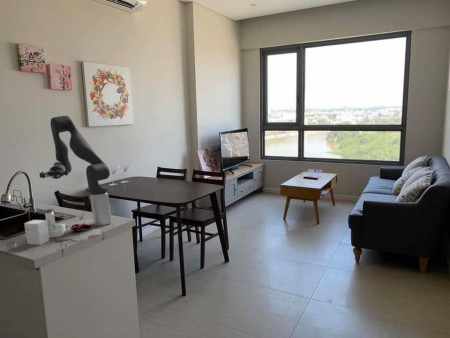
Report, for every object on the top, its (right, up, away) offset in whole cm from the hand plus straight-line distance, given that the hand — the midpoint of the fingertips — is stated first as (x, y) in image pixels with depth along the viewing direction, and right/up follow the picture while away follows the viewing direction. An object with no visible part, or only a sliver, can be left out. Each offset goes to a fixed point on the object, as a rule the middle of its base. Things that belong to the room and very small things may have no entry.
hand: (51, 175), depth 187 cm
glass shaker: (+6, -29, -11) cm, 32 cm away
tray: (+6, -30, -11) cm, 32 cm away
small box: (+5, -32, -23) cm, 40 cm away
